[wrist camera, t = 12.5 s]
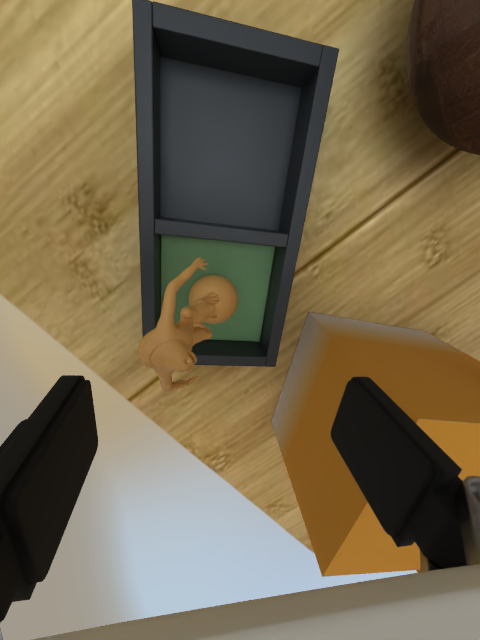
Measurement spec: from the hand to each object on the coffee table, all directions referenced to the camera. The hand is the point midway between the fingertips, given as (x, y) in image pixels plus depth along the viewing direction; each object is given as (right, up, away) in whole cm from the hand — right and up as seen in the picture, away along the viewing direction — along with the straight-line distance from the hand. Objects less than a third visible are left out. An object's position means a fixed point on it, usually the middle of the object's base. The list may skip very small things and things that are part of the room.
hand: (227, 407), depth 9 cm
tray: (-1, +11, +12) cm, 16 cm away
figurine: (-3, +6, +13) cm, 15 cm away
